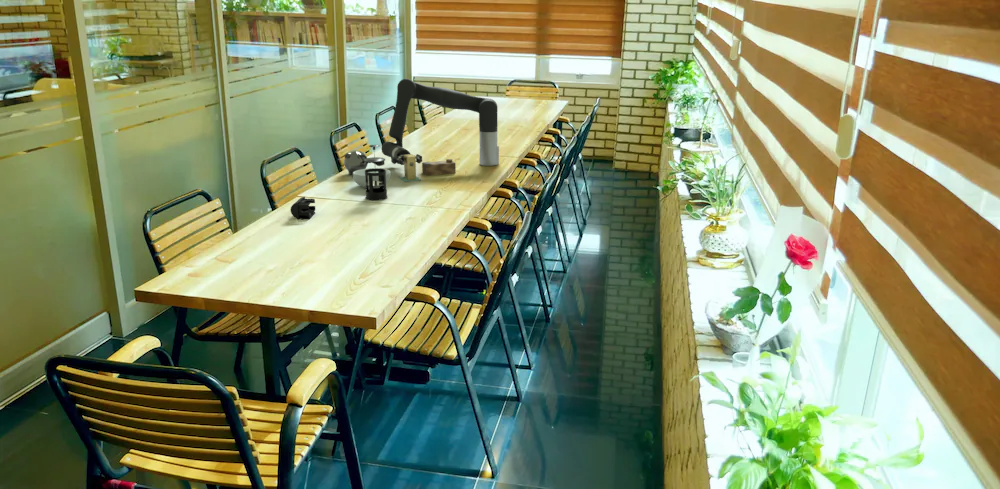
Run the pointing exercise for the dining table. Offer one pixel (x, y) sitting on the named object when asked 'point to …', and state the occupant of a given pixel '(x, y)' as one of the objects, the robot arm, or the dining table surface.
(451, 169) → the body
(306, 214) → the end cap
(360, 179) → the cereal bowl
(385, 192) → the french press
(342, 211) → the dining table surface
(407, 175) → the brushed brass block
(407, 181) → the mat
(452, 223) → the dining table surface
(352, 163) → the piggy bank
